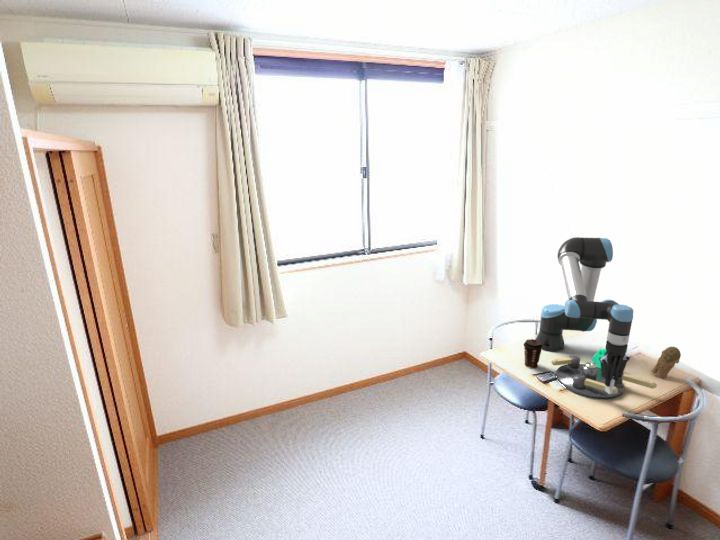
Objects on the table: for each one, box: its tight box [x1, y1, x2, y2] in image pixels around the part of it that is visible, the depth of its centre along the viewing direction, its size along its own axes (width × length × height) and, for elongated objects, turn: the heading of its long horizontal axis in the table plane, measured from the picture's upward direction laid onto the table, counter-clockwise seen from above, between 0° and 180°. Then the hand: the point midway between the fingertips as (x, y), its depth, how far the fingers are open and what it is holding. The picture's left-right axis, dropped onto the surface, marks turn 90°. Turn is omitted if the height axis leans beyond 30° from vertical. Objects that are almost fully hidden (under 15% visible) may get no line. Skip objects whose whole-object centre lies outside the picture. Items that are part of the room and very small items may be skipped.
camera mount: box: [591, 348, 606, 368], centre depth 206 cm, size 12×8×10 cm, turn 2°
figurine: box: [650, 346, 682, 378], centre depth 196 cm, size 8×8×15 cm
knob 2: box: [615, 372, 657, 390], centre depth 186 cm, size 18×5×5 cm, turn 49°
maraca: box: [551, 354, 581, 369], centre depth 203 cm, size 14×5×5 cm, turn 100°
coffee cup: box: [523, 339, 543, 369], centre depth 209 cm, size 9×8×13 cm
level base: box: [555, 361, 625, 400], centre depth 193 cm, size 28×28×10 cm
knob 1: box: [573, 374, 618, 394], centre depth 183 cm, size 18×5×5 cm, turn 49°
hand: (608, 392), depth 177 cm, fingers closed
